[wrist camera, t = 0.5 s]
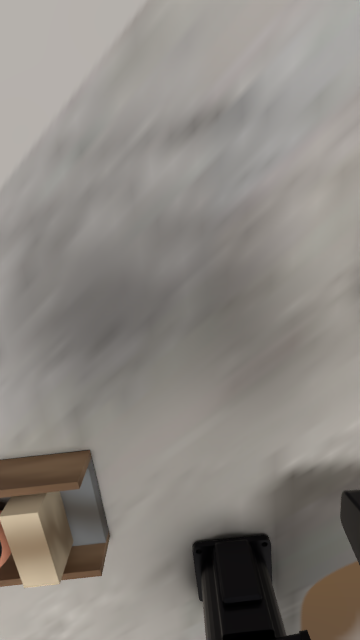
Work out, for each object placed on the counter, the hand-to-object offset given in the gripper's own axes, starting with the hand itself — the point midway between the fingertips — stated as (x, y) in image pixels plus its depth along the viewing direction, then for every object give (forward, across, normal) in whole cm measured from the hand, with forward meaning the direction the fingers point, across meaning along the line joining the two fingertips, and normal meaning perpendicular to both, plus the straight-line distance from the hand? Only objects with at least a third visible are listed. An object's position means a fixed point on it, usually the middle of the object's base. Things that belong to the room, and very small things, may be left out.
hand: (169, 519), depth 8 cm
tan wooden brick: (+12, +11, +12) cm, 20 cm away
